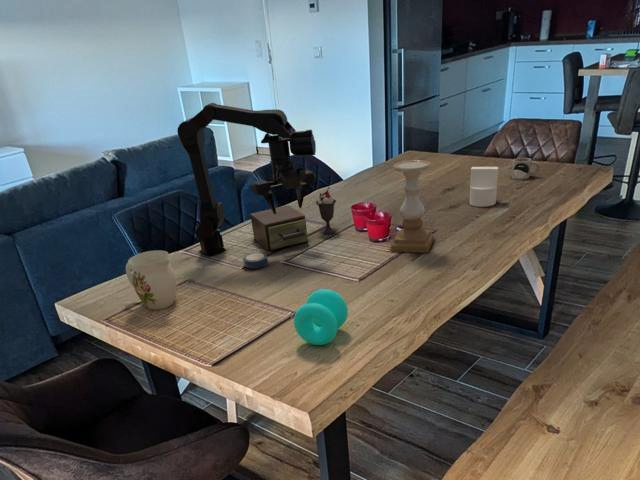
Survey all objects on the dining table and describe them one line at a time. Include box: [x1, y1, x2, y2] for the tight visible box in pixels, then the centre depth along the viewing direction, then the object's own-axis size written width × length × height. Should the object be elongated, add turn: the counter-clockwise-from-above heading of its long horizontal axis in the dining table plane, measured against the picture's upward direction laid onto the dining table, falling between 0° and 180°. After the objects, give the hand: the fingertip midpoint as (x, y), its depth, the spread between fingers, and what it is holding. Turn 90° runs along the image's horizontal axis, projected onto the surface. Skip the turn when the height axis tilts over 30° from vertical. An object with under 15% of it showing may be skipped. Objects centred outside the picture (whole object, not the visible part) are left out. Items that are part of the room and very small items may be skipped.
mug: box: [511, 157, 541, 181], centre depth 219 cm, size 10×7×7 cm, turn 73°
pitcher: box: [125, 249, 178, 310], centre depth 148 cm, size 11×18×14 cm, turn 59°
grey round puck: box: [242, 252, 269, 270], centre depth 167 cm, size 7×7×3 cm
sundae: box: [315, 186, 337, 235], centre depth 184 cm, size 7×7×15 cm
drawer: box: [267, 218, 309, 250], centre depth 179 cm, size 18×12×7 cm
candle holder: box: [390, 159, 434, 254], centre depth 164 cm, size 11×11×24 cm
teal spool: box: [293, 288, 349, 346], centre depth 125 cm, size 10×10×10 cm
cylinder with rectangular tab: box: [468, 166, 499, 208], centre depth 195 cm, size 9×9×12 cm
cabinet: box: [249, 204, 308, 252], centre depth 183 cm, size 14×14×9 cm
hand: (287, 210), depth 171 cm, fingers open, 8 cm apart
